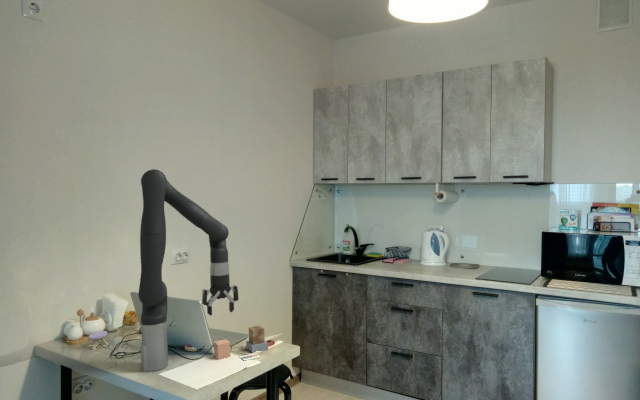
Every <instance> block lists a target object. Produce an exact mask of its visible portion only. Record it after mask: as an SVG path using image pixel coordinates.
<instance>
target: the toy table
mask: <svg viewBox="0 0 640 400" xmlns="http://www.w3.org/2000/svg"><path fill="white" fill-rule="evenodd" d="M107 335H108V331H107V330H99V331H95V332H94V333H93V332H92V334H90V335H89V336H88V340H91V342H90V343H89V344H88V346H89V345H93V347H91V349H92V348H95V347H97V348H98V345H99V344H100V343H101V344H102V345H101V346H103V345H109V346H110V344H109V343H108V342H107V341H106V339H105V337H106V336H107Z"/></svg>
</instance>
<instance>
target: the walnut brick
mask: <svg viewBox="0 0 640 400" xmlns="http://www.w3.org/2000/svg"><path fill="white" fill-rule="evenodd" d="M265 336H266V335H265V328H264V327H263V326H261V325H255V326H250V327H248V341H249V342H250V343H251V344H253V345H256V344H261V343H265V341H266V340H265V339H266V338H265Z"/></svg>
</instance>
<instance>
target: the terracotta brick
mask: <svg viewBox="0 0 640 400" xmlns="http://www.w3.org/2000/svg"><path fill="white" fill-rule="evenodd" d="M213 350H214V351H213V353H214V357H215V358H216V359H217V360H218V361H219V360H224V358H225V359H228V357H230V358H231V341H229V340H228V339H226V338H225V339H220V340H215V341H213Z"/></svg>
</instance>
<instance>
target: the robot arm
mask: <svg viewBox="0 0 640 400" xmlns="http://www.w3.org/2000/svg"><path fill="white" fill-rule="evenodd" d="M140 185H141V192H142V215H141V219H140V231H139V232H140V233H139V234H140V235H139V246H140V247H139V249H140V254H139V255H140V266H141V267H140V278H139V285H138V286H139V288H138V298H139V301H140V303H141V304H142V307H141V308H142V310H141V315H140V325H141V326H140V329H141V330H140V331H141V332H140V333H141V335H140V336H141V342H140V358H141V360H140V361H141V362H140V363H141V368H142V370H143V372H144V373H145V372H156V371H161V370H163V369H166V368H167V367H168V366H169V349H168V323H167V322H168V321H167V319H168V317H167V316H168V288H167V286H166V284H165V282H164V281H163V278H162V276H163V275H162V274H163V273H162V269H163V263H164V258H165V255H166V254H165V253H166V247H167V246H166V244H167V225H166V224H167V223H166V215H165V214H166V213H165V203H167V204H168V205H169V206H171V208H173V209H175V211H177V212H178V213H179V214H180V215H181V216H183V218H185V219H186V220H187V221H189V223H191V224H193V225H194V226H195V227H197V228H199V229H200V230H202V231H203V232H204V233H205V234H206V235H208V242H209V249H210V252H209V254H210V256H209V257H210V262H209V263H210V267H209V274H210V275H209V276H210V285H209V286H210V288H209V289H205V288H203V289H202V292H201V293H202V296H201V297H202V298H201V303H202V305H204V306H206V311H207V314H208V315H209V316H213V306H212V305H213V303H214V302H215V301H216V300H220V299H227V300H228V301H229V302H228V307H229V308H228V309H229V312H230V313H234V312H233V311H234V310H235V302H237V301H239V290H238V289H239V288H238V286H237V285H235V284H234V285H232V286H231V284H230V264H229V250H228V248H227V238H228V237H229V233H230V232H229V228H228V227H227V226H226V225H225V224H223V223H222V222H221V221H219V220H218V219H216V218H215V217H213V216H212V215H211V214H210V213H209V212H208V211H207V210H206V209H204V208H203V207H201V206H200V205H199V204H197V203H196V202H195V201H193V200H191V199H190V198H189V197H187V196H186V195H184V194H183V193H181V192H180V191H179V190H178V189H176V188H175V187H174V186H173V185H172V184H171V182H169V181H168V179H167V177H166V175H165V173H163V171H161V170H159V169H149V170H147V171H145V172H144V173H143V175H142V176H141V178H140ZM231 291H232V294H233V297H232V296H231V295H230V292H231ZM209 294H211V295H210V297H209V299H208V295H209Z"/></svg>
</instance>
